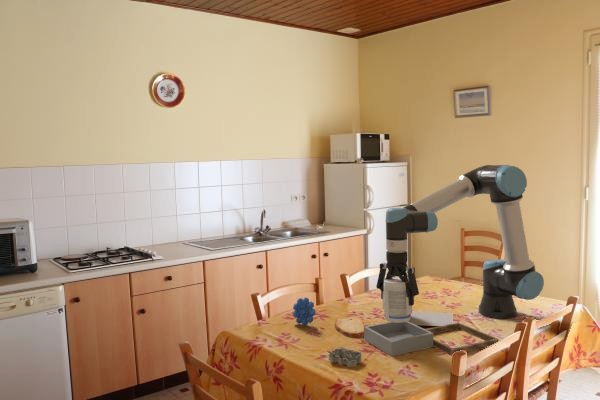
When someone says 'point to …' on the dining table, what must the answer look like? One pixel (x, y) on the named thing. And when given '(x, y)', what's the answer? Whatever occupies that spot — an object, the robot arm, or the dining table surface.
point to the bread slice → (350, 327)
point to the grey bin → (398, 337)
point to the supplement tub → (395, 300)
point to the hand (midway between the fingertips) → (397, 310)
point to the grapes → (304, 311)
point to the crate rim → (471, 347)
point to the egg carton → (345, 356)
